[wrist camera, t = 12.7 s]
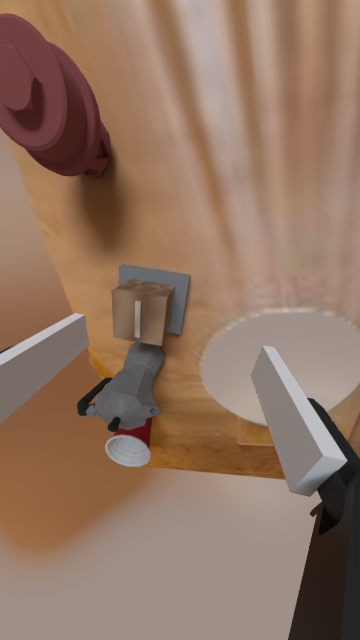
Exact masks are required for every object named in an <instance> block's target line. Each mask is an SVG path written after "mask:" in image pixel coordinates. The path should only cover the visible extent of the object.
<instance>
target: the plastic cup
mask: <svg viewBox="0 0 360 640" xmlns="http://www.w3.org/2000/svg"><path fill="white" fill-rule="evenodd" d="M151 423H152V417H150V418H147V419H146V422H145V425H144V426H141V427H137V428H134V429H130V430H126V429H123V428H119V429H118V431H117V432H116V433H115V434H114V435H113V437H112V438H111V439H109V440H108V441H107V443H106V446H105V448H106V453H107V454H108V455H109V457H110V458H111V459H112V460H114V461H115V462H117V463H119V464H122V465H124V466H129V467H138V466H142V465H144V464H146V463H147V462H148V461H149V459H150V448H149V446H150V433H151Z"/></svg>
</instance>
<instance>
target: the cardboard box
mask: <svg viewBox="0 0 360 640" xmlns="http://www.w3.org/2000/svg"><path fill="white" fill-rule="evenodd" d="M173 294H174V286H172V285H166V284H160V283H154V282H147V281H141V280H135V279H131V280H129V281H128V282H126V283H124V284H122V285H120V286H118V287H117V288H115V289H113V290H112V310H113V333H114V338H119V339H125V340H130V341H136V342H142V343H147V344H153V345H158V346H162V344H163V341H164V338H165V336H166V333H167V330H168V328H169V325H170V318H171V310H172V302H173Z"/></svg>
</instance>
